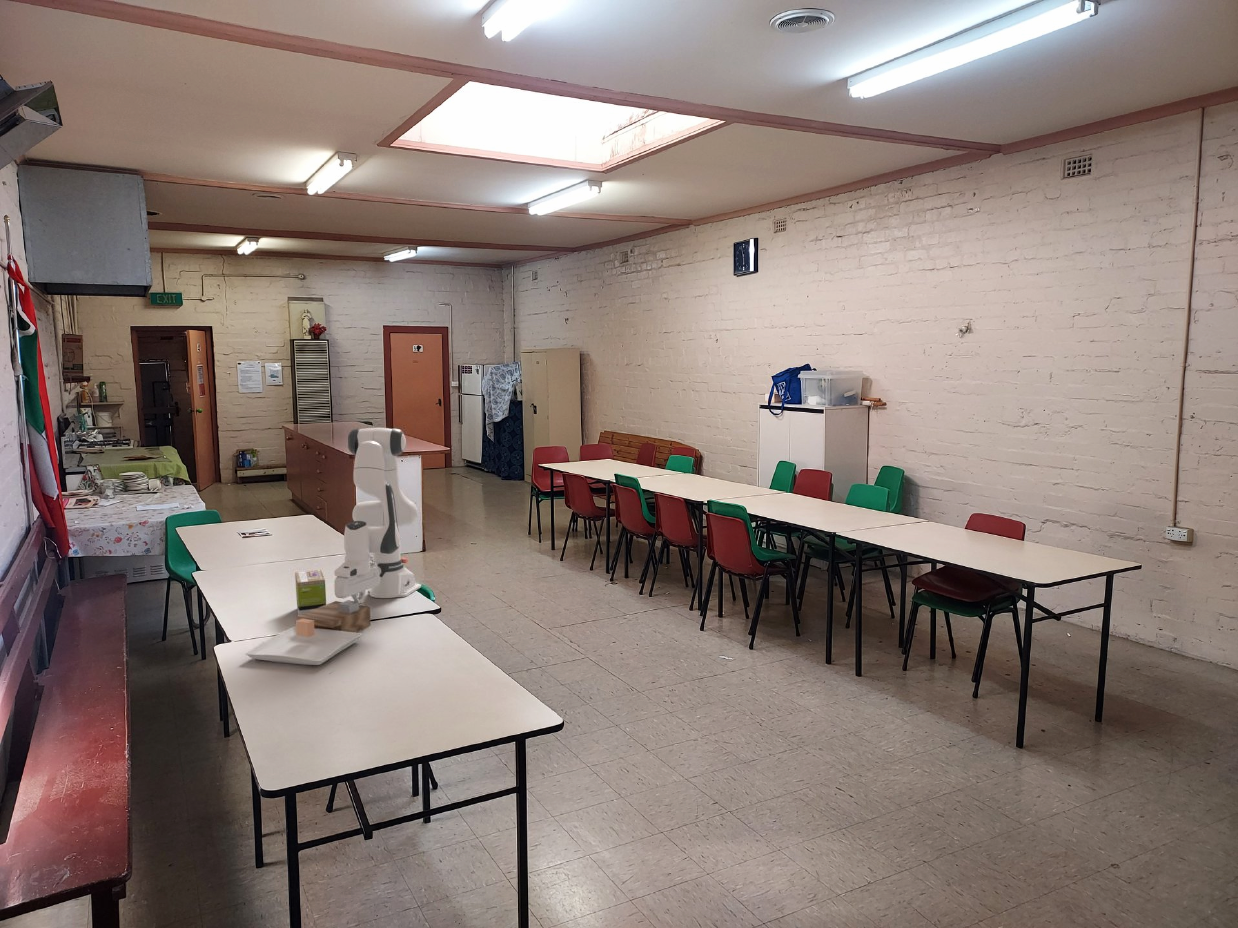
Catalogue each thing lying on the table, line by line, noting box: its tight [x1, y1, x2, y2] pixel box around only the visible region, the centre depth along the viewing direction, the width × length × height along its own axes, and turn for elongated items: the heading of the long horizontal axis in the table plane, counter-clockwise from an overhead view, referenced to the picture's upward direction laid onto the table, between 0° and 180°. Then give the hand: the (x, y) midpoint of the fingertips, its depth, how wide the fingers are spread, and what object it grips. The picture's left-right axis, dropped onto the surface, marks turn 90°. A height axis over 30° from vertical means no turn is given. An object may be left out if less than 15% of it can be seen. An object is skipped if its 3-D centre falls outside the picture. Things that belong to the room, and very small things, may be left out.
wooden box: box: [296, 600, 371, 633], centre depth 291 cm, size 19×16×7 cm
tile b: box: [338, 599, 360, 614], centre depth 291 cm, size 5×5×3 cm
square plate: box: [244, 626, 364, 666], centre depth 271 cm, size 27×27×4 cm
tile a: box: [295, 619, 314, 637], centre depth 277 cm, size 5×5×3 cm
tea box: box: [294, 569, 327, 616], centre depth 310 cm, size 15×10×15 cm, turn 25°
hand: (358, 603), depth 296 cm, fingers closed
